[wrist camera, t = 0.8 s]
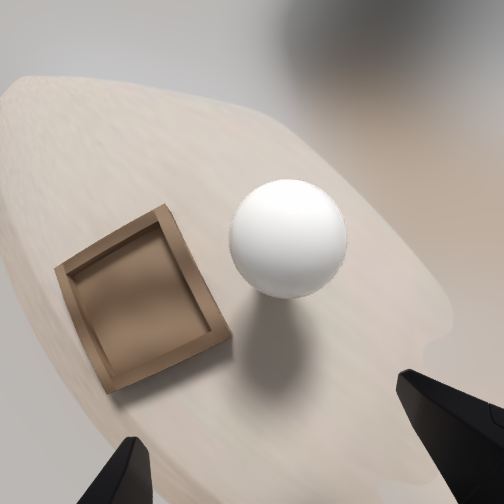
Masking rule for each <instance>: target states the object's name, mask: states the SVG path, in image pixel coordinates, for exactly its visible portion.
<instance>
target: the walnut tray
mask: <svg viewBox="0 0 504 504" xmlns="http://www.w3.org/2000/svg"><path fill="white" fill-rule="evenodd" d="M54 270H55V273H56V276H57V279H58V282H59V285H60V288H61V291H62V294H63V297H64V300H65V302H66V305H67V308H68V310H69V313H70V316H71V318H72V321H73V323H74V326H75V328H76V331H77V333H78V335H79V338H80V340H81V342H82V344H83V347H84V349H85V351H86V353H87V356H88V358H89V360H90V362H91V364H92V366H93V368H94V370H95V372H96V374H97V376H98V378H99V380H100V382H101V384H102V386H103V388H104V390H105V392H106V393H107V394H109V393H112V392H114V391H116V390H119V389H121V388H124V387H126V386H128V385H130V384H133V383H135V382H137V381H140V380H142V379H144V378H146V377H149V376H151V375H153V374H155V373H158V372H160V371H162V370H164V369H166V368H168V367H171V366H173V365H175V364H177V363H179V362H181V361H183V360H185V359H188V358H190V357H192V356H194V355H196V354H198V353H200V352H202V351H204V350H206V349H208V348H210V347H212V346H214V345H216V344H218V343H220V342H222V341H224V340H226V339H228V338H230V337H232V332H231V330H230V329H229V327H228V325H227V323H226V321H225V319H224V317H223V316H222V314H221V312H220V310H219V308H218V306H217V304H216V302H215V300H214V298H213V296H212V295H211V293H210V291H209V289H208V287H207V285H206V283H205V281H204V279H203V277H202V275H201V273H200V271H199V269H198V267H197V265H196V263H195V261H194V259H193V257H192V255H191V253H190V251H189V249H188V247H187V245H186V243H185V241H184V239H183V236H182V234H181V232H180V230H179V228H178V226H177V224H176V222H175V220H174V217H173V215H172V213H171V212H170V210H169V209H168V207H167V206H166V205H165V204H163V205H161V206H159V207H157V208H156V209H154V210H152V211H150V212H148V213H146V214H145V215H143V216H141V217H139V218H137V219H135V220H134V221H132V222H130V223H128V224H127V225H125V226H123V227H121V228H120V229H118V230H116V231H114V232H113V233H111V234H109V235H108V236H106V237H104V238H102V239H101V240H99V241H97V242H96V243H94V244H92V245H91V246H89V247H88V248H86V249H84V250H83V251H81V252H79V253H78V254H76V255H75V256H73V257H71V258H70V259H68V260H67V261H65V262H64V263H62V264H60V265H59V266H57V267H56V268H54Z"/></svg>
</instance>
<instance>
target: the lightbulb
mask: <svg viewBox="0 0 504 504" xmlns="http://www.w3.org/2000/svg"><path fill="white" fill-rule="evenodd" d="M347 244H348V234H347V227H346V223H345V220H344V217H343V215H342V213H341V211H340V209H339V207H338V206H337V204H336V203H335V202H334V200H333V199H332V198H331V197H330V196H329V195H328V194H327V193H325V192H324V191H323V190H321V189H320V188H318V187H316V186H314V185H312V184H310V183H307V182H304V181H300V180H293V179H283V180H276V181H272V182H269V183H266V184H264V185H262V186H260V187H258V188H256V189H255V190H253V191H252V192H251V193H250V194H248V195H247V196H246V197H245V198H244V199H243V201H242V202H241V203H240V205H239V206H238V208H237V209H236V211H235V213H234V215H233V218H232V221H231V224H230V228H229V250H230V254H231V258H232V260H233V263H234V265H235V267H236V269H237V270H238V272H239V273H240V275H241V276H242V277H243V279H244V280H245V281H246V282H247V283H248V284H250V285H251V286H252V287H253V288H255V289H256V290H258V291H260V292H262V293H264V294H266V295H269V296H272V297H276V298H282V299H295V298H301V297H305V296H308V295H311V294H313V293H315V292H317V291H319V290H320V289H322V288H323V287H324V286H326V285H327V284H328V283H329V282H330V281H331V280H332V279H333V278H334V277H335V275H336V274H337V273H338V271H339V269H340V268H341V266H342V264H343V261H344V258H345V255H346V251H347Z"/></svg>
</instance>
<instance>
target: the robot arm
mask: <svg viewBox="0 0 504 504" xmlns="http://www.w3.org/2000/svg"><path fill="white" fill-rule="evenodd" d="M396 392H397V395H398V397H399V399H400V401H401V403H402V405H403V408H404V410H405V412H406V414H407V416H408V418H409V421H410V423H411V425H412V427H413V428H414V430H415V432H416V433H417V435H418V437H419V438H420V440H421V441H422V443H423V445H424V446H425V448H426V450H427V451H428V453H429V455H430V456H431V458H432V460H433V461H434V463H435V465H436V466H437V468H438V470H439V471H440V473H441V475H442V476H443V478H444V479H445V481H446V483H447V485H448V487H449V488H450V490H451V492H452V493H453V495H454V497H455V499H456V501H457V502H458V504H504V409H503V408H501V407H498V406H495V405H493V404H490V403H489V404H488V402H485V401H483V400H480V399H478V398H476V397H473V396H471V395H469V394H466V393H464V392H462V391H459V390H457V389H454V388H452V387H450V386H448V385H445V384H443V383H441V382H439V381H436V380H434V379H432V378H430V377H427V376H425V375H423V374H421V373H418V372H416V371H414V370H412V369H407V370H404V371H402V372H400V373H399V375H398V380H397V386H396ZM77 504H153V490H152V480H151V470H150V459H149V452H148V450H147V448H146V447H145V446H144V444H143V443H142V442H141V440H140V439H139V438H138V437H126V438H125V439H124V440H123V442H122V443H121V444H120V446H119V447H118V448H117V450H116V451H115V453H114V454H113V455H112V457H111V458H110V459H109V461H108V462H107V463H106V465H105V466H104V467H103V469H102V470H101V472H100V473H99V474H98V476H97V477H96V478H95V480H94V481H93V482H92V484H91V485H90V486H89V488H88V489H87V490H86V492H85V493H84V495H83V496H82V497H81V498H80V500H79V501H78V502H77Z"/></svg>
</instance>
